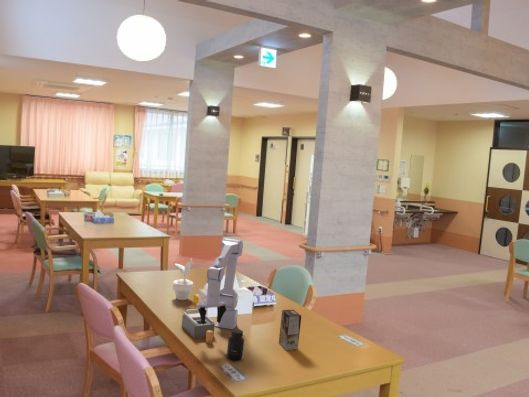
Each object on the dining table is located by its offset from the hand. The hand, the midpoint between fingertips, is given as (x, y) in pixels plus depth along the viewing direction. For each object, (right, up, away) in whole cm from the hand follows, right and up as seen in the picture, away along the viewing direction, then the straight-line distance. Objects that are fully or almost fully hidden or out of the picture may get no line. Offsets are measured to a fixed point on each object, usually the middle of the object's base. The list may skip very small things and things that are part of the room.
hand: (210, 322), depth 223 cm
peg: (-1, -9, +1) cm, 9 cm away
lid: (-9, -1, +16) cm, 18 cm away
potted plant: (-23, -1, +60) cm, 65 cm away
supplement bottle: (+12, -12, -14) cm, 21 cm away
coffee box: (+35, -12, +5) cm, 38 cm away
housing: (-8, -7, +13) cm, 17 cm away
